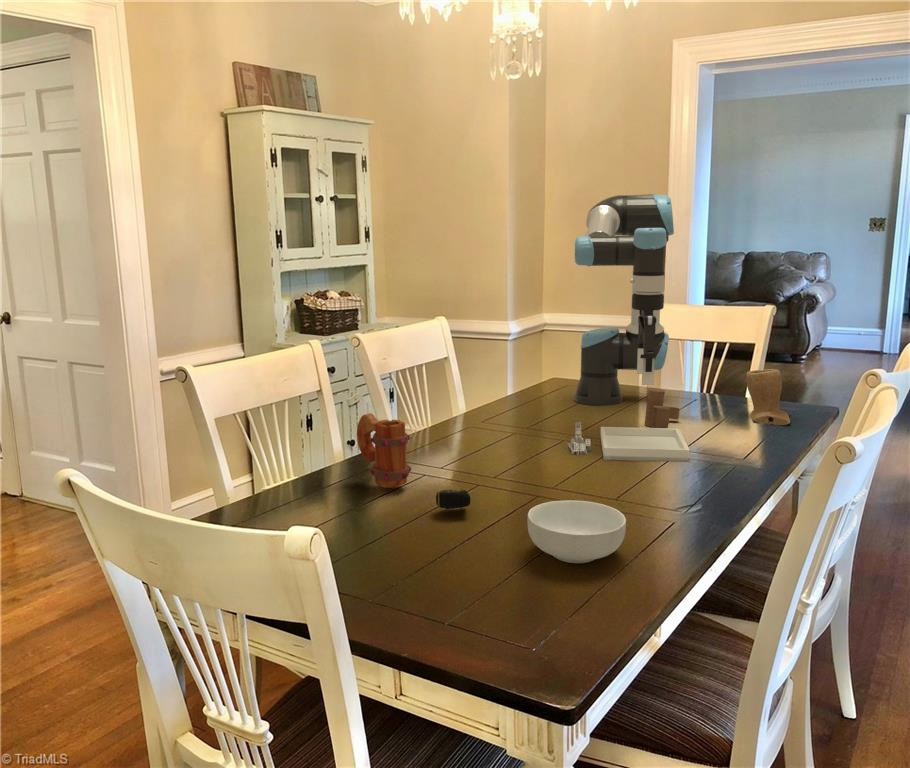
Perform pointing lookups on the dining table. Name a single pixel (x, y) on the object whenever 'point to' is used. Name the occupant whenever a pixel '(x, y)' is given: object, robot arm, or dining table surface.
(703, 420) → the dining table surface
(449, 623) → the dining table surface
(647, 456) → the tray
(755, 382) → the brown upright flared piece
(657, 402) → the wooden block set
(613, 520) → the cereal bowl
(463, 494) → the tape measure
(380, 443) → the mug
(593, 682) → the dining table surface
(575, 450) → the house of cards
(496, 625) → the dining table surface
